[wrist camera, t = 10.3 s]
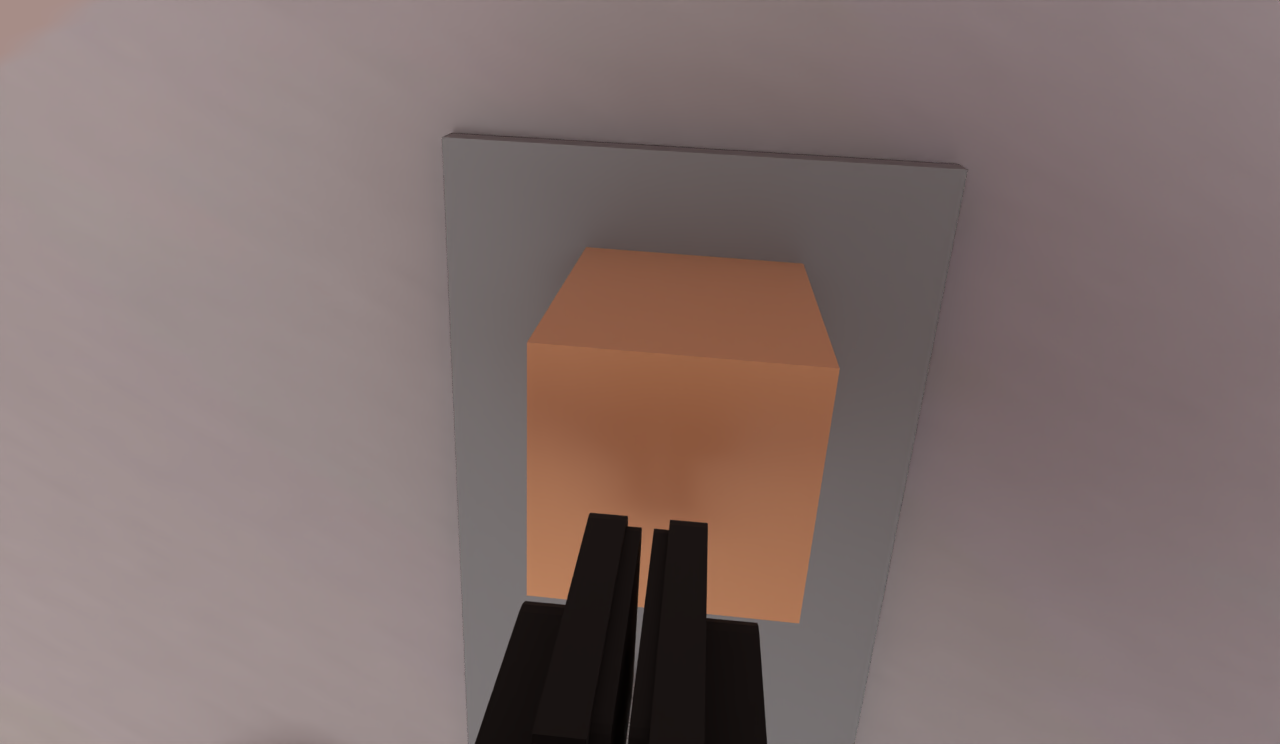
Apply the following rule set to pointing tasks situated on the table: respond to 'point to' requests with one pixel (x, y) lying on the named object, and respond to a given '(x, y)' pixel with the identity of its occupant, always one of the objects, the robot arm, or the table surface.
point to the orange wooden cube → (682, 419)
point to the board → (717, 227)
